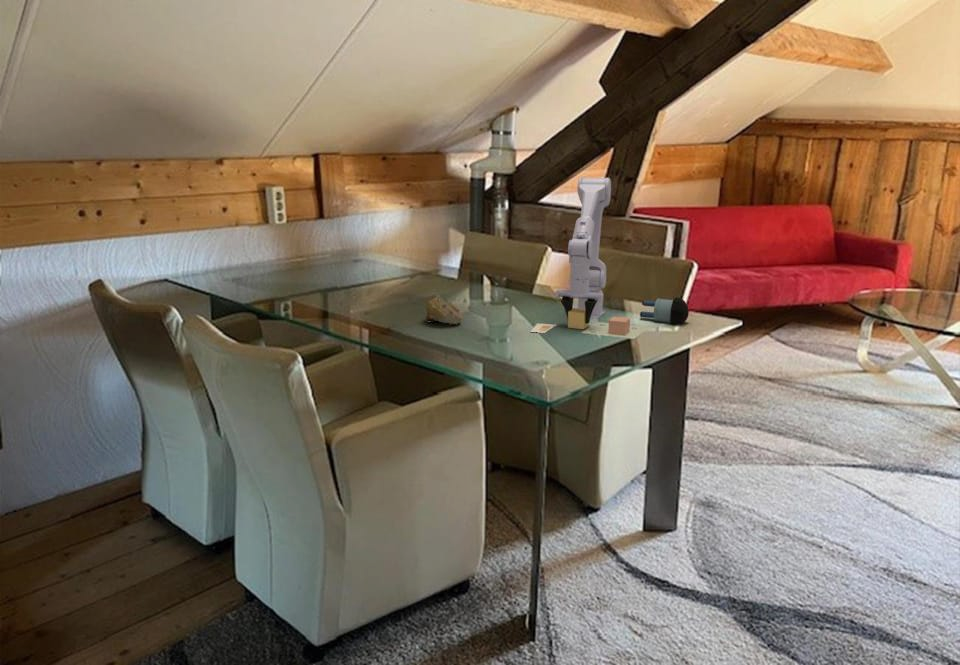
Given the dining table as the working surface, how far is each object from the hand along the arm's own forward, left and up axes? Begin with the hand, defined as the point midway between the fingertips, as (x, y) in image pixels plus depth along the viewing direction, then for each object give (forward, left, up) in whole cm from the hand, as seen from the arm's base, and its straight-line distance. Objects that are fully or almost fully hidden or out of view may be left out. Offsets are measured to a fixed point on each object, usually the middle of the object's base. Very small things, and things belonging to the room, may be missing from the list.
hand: (578, 321), depth 225 cm
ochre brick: (0, 0, -2) cm, 2 cm away
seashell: (+11, -41, -2) cm, 43 cm away
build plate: (-1, +11, -2) cm, 11 cm away
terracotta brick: (+1, +13, -2) cm, 13 cm away
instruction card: (+5, -9, -2) cm, 11 cm away
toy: (-17, +22, -2) cm, 28 cm away
